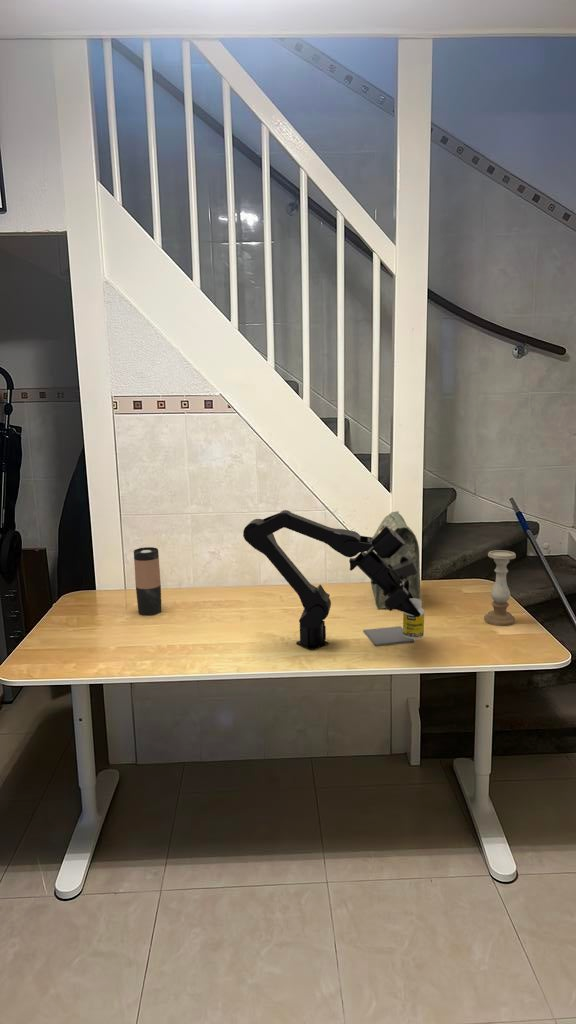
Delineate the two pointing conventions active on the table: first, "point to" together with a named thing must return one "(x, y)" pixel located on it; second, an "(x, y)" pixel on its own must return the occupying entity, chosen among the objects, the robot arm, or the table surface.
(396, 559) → the bag
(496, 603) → the candle holder
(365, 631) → the mat
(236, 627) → the table surface
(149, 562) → the travel mug
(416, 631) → the supplement bottle
